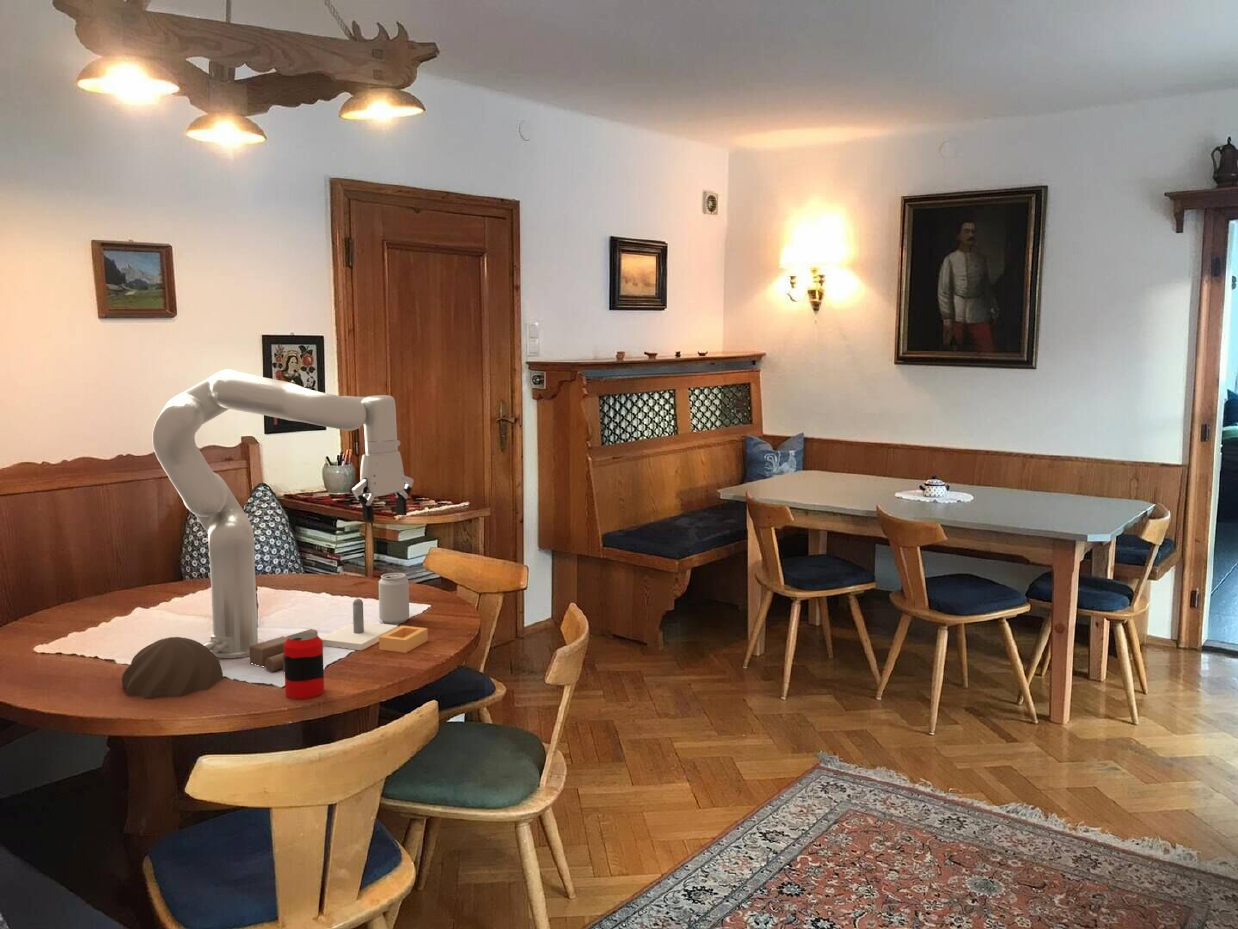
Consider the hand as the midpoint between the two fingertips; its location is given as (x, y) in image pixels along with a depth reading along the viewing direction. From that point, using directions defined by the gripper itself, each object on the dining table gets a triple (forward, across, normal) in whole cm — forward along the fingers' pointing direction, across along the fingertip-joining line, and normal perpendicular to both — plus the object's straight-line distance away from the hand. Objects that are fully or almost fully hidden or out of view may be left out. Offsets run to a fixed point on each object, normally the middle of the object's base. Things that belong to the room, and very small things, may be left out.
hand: (385, 518), depth 246 cm
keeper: (+29, +7, -3) cm, 30 cm away
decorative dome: (+28, +51, -7) cm, 59 cm away
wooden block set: (+29, +26, +2) cm, 39 cm away
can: (+29, -8, -9) cm, 31 cm away
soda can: (+28, +37, +20) cm, 51 cm away
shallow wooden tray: (+29, +4, +9) cm, 31 cm away
